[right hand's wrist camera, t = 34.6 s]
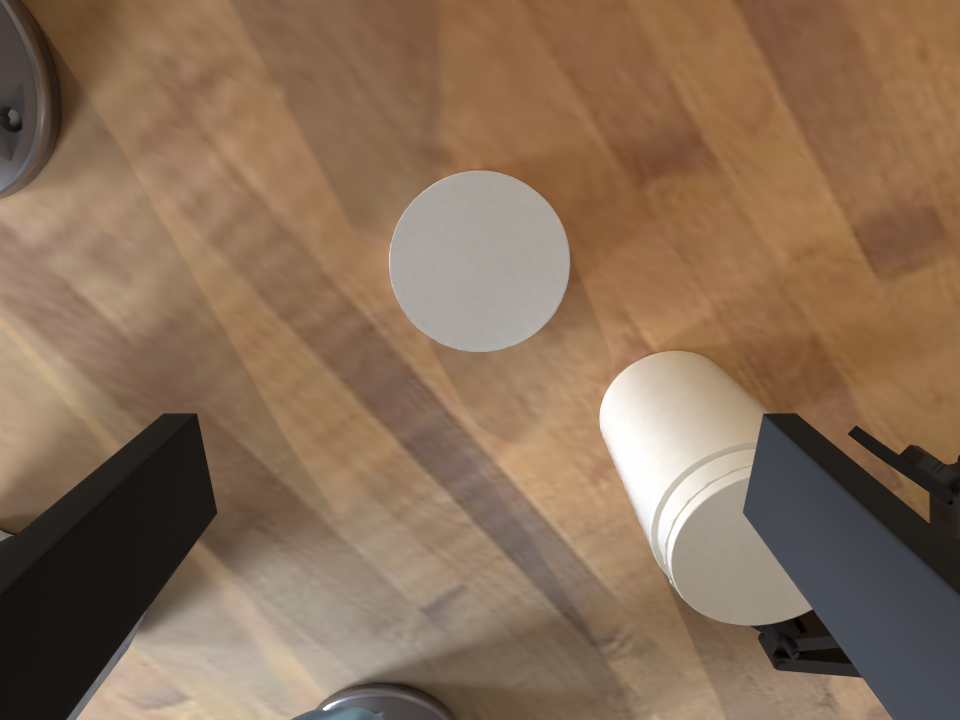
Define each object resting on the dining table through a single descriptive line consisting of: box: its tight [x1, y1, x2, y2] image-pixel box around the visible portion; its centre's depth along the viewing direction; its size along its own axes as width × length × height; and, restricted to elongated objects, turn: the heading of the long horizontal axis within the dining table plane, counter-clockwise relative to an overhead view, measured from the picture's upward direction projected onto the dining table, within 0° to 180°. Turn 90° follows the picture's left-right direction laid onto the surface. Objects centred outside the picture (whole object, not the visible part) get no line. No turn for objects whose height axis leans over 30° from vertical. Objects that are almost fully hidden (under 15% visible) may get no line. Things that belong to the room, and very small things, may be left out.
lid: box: [389, 170, 570, 352], centre depth 36 cm, size 12×12×2 cm
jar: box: [600, 351, 812, 626], centre depth 34 cm, size 10×10×15 cm
